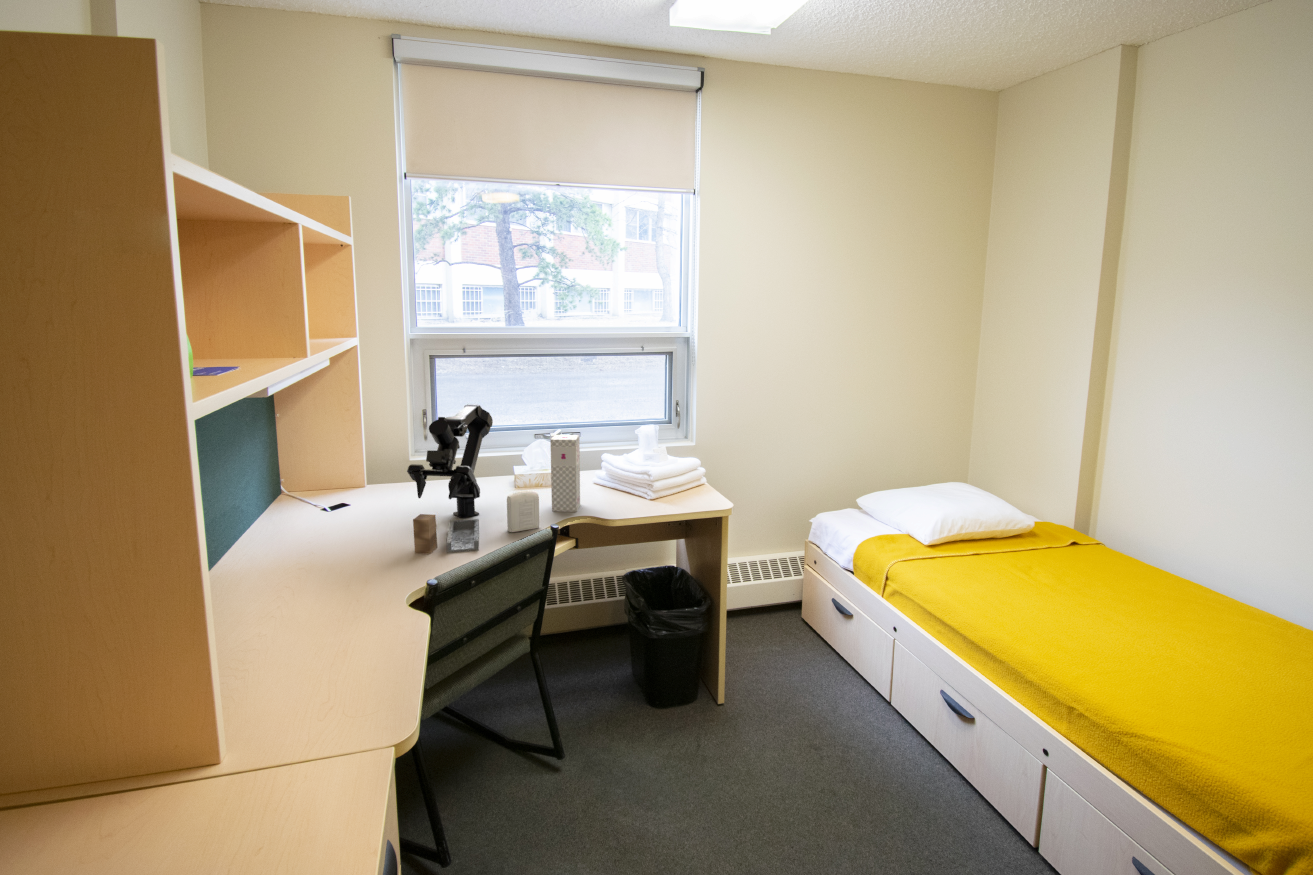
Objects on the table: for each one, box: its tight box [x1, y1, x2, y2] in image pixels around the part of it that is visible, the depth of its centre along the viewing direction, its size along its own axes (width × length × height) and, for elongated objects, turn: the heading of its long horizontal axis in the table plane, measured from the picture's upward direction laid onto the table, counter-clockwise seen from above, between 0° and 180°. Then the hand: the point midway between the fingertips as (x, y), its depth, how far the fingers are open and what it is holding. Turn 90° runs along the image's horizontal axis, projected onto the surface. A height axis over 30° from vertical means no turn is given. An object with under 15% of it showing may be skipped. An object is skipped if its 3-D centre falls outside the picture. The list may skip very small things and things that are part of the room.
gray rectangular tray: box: [446, 518, 480, 554], centre depth 204 cm, size 20×9×3 cm, turn 14°
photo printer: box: [506, 490, 540, 533], centre depth 214 cm, size 10×4×12 cm, turn 123°
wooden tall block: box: [412, 513, 438, 555], centre depth 195 cm, size 4×5×10 cm
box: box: [550, 434, 581, 513], centre depth 235 cm, size 8×8×25 cm
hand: (434, 498), depth 201 cm, fingers open, 9 cm apart
